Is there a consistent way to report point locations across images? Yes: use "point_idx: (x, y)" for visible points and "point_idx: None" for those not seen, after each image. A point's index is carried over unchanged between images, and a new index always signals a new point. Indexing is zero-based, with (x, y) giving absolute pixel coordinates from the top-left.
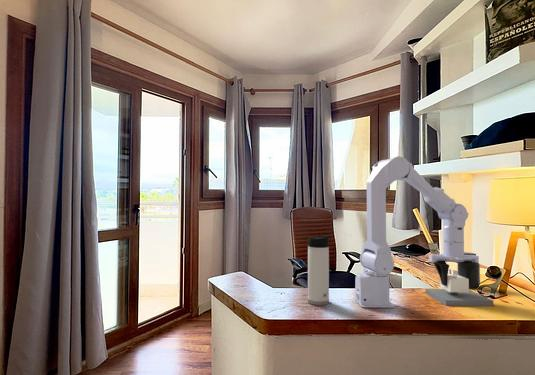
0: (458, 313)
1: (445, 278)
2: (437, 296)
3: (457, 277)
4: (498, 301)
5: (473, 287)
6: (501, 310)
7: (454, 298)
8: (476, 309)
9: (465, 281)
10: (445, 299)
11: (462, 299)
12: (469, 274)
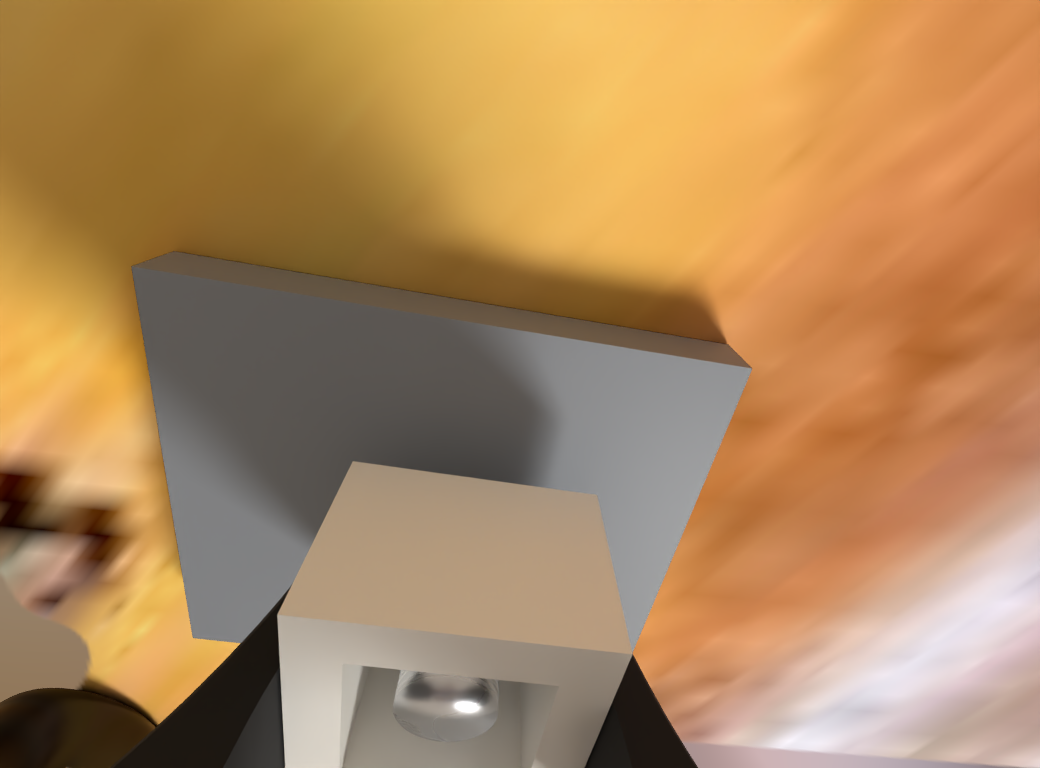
0: (843, 59)
1: (647, 695)
2: (688, 508)
3: (346, 737)
4: (15, 381)
5: (68, 699)
6: (170, 75)
7: (584, 410)
8: (481, 168)
9: (356, 582)
10: (725, 394)
11: (517, 366)
12: (171, 731)
